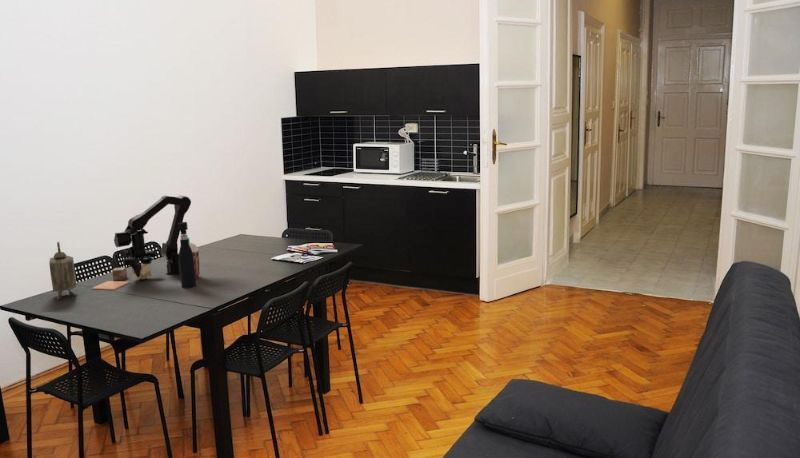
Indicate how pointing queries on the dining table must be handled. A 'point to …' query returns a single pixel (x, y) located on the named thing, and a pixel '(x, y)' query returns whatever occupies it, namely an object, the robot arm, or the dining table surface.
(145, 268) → the maple block
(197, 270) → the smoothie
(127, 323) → the dining table surface
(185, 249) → the wine bottle
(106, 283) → the terracotta tile
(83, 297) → the dining table surface
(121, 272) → the walnut block
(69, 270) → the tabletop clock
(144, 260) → the robot arm
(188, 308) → the dining table surface
